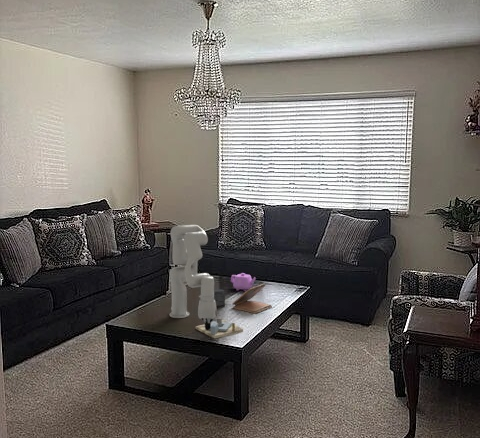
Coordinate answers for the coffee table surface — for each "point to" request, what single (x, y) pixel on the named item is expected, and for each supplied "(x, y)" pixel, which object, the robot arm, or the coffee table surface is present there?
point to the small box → (219, 297)
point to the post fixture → (231, 330)
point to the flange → (215, 327)
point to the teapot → (242, 281)
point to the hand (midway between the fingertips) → (207, 329)
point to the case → (251, 305)
